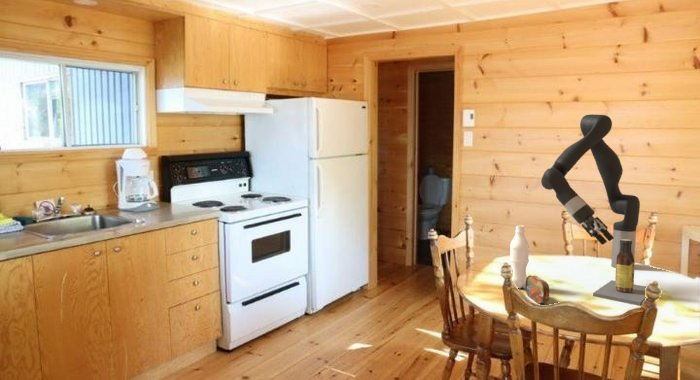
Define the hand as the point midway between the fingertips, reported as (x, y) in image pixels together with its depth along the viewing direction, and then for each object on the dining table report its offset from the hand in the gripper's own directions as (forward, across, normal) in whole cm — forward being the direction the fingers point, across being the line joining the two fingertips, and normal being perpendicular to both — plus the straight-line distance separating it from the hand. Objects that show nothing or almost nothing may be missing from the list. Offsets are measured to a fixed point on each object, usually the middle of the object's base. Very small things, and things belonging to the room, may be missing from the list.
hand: (608, 241), depth 199 cm
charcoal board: (+18, 0, +9) cm, 21 cm away
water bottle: (-6, -19, +33) cm, 39 cm away
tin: (+3, -29, +25) cm, 38 cm away
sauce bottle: (+18, 0, +8) cm, 20 cm away
